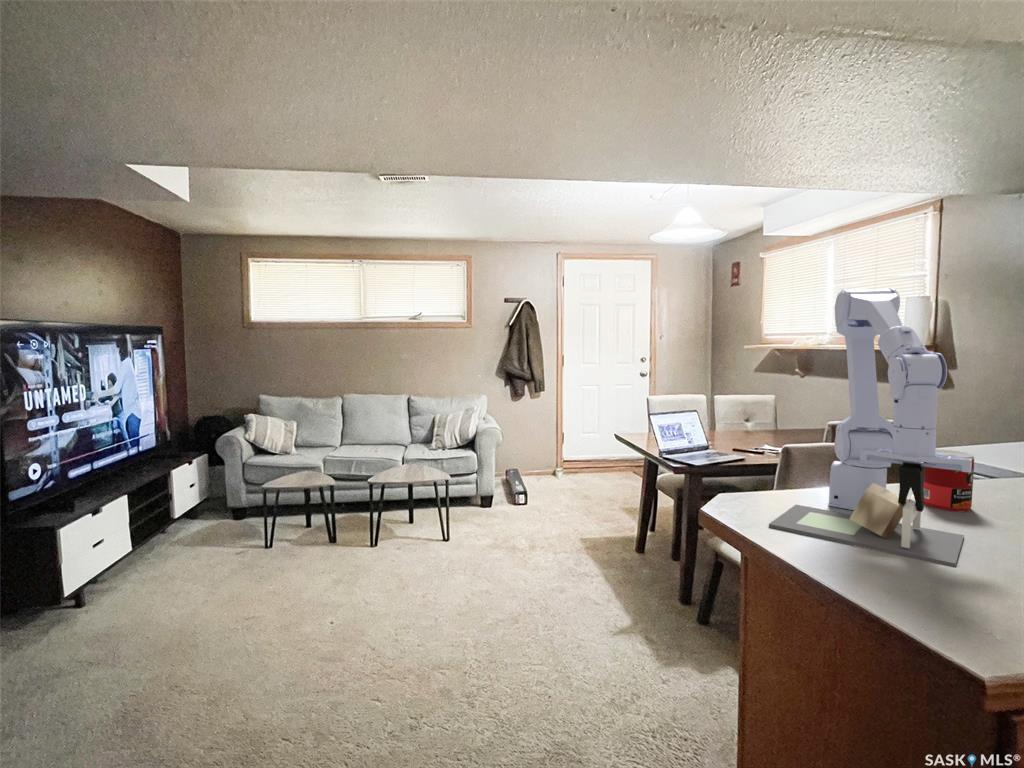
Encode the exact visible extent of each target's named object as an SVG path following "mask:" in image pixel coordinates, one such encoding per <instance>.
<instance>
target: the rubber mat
mask: <svg viewBox="0 0 1024 768" xmlns="http://www.w3.org/2000/svg"><path fill="white" fill-rule="evenodd" d="M851 515H852V513H851V514H850V513H846V512H845V513H844V512H839V511H834V510H833V511H832V510H829V509H828V510H827V509H822V508H817V507H812V506H805V505H800V504H795V505H793V506H791V508H788V510H786V511H785V512H784V513H782V514H780V515H779V516H778V517H776V518H775V519H773V521H771V522H769V523H768V528H771V529H776V530H781V531H786V532H790V533H795V534H798V535H799V534H800V535H805V536H809V537H814V538H818V539H822V540H825V541H832V542H835V543H840V542H841V544H845V545H849V544H850V546H854V545H856V546H855V547H859V546H861V547H860V548H864V547H865V548H864V549H868V548H870V549H869V550H873V549H875V550H874V551H878V550H880V551H879V552H883V551H884V552H883V553H888V554H893V555H898V556H903V557H907V558H912V559H917V560H921V561H922V560H923V561H925V562H926V561H927V562H930V563H935V564H940V565H945V566H949V567H950V566H951V567H955V568H956V567H957V566H956V565H957V563H958V559H959V556H960V552H961V550H962V549H961V548H962V546H963V542H964V539H965V535H964V534H961V533H960V534H959V533H954V532H948V531H942V530H938V529H937V530H936V529H932V528H926V527H921V526H920V529H916V528H912V525H911V536H910V548H905V547H901V540H902V523H900V522H899V523H898V525H897V526H896V528H895V530H894V531H893V533H892V534H891V536H890V537H889V539H888V540H887V539H886V538H884V537H882V536H880V535H878V534H876V533H874V532H873V531H871V530H869V529H867V528H865V527H863V526H861V525H860V524H858V523H856V522H854V521H852V520H850V517H851Z"/></svg>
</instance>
